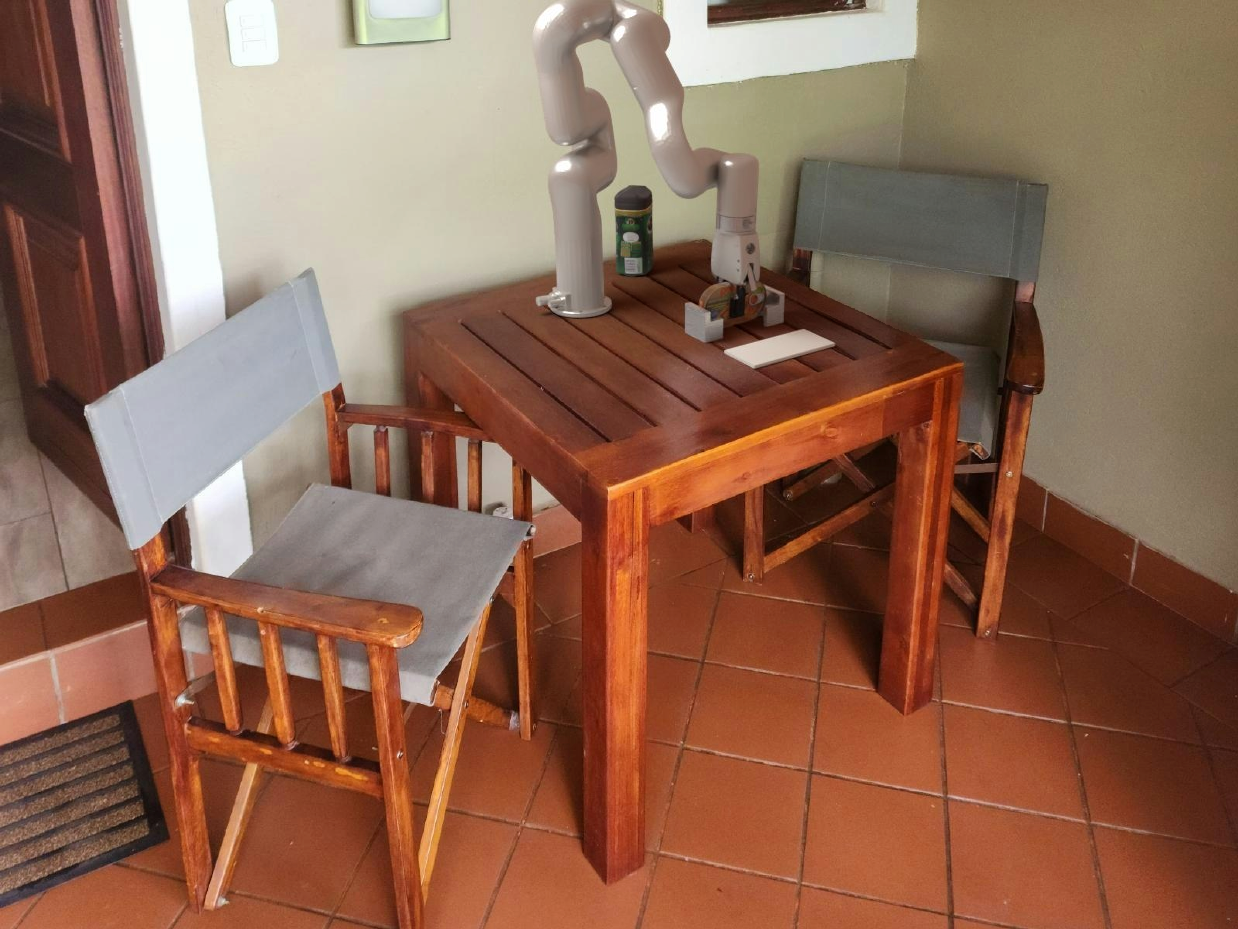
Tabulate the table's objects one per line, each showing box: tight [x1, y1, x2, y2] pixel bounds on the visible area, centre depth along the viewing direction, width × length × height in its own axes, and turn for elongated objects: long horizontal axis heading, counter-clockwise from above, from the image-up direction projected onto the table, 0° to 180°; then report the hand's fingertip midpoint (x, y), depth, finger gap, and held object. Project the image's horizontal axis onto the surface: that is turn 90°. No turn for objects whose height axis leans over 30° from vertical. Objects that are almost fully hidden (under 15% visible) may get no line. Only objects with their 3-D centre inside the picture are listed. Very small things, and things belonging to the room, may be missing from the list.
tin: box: [698, 280, 767, 328], centre depth 228 cm, size 15×3×8 cm, turn 122°
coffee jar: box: [613, 184, 655, 277], centre depth 258 cm, size 10×8×19 cm
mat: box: [723, 328, 836, 369], centre depth 219 cm, size 19×9×1 cm, turn 122°
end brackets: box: [684, 283, 785, 344], centre depth 228 cm, size 7×19×6 cm, turn 122°
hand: (731, 313), depth 229 cm, fingers closed on tin, 2 cm apart
